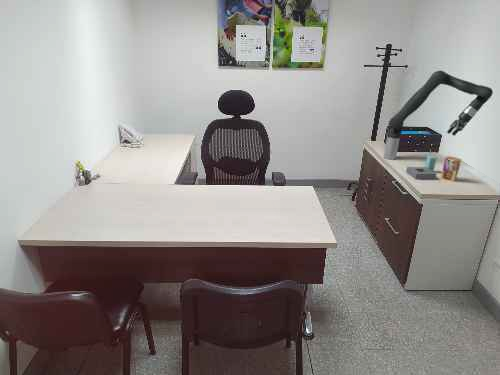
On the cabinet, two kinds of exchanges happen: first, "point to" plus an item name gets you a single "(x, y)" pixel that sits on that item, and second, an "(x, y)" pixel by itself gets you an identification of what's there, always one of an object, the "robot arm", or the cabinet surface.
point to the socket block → (421, 173)
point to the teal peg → (430, 162)
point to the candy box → (451, 168)
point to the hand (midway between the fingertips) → (450, 133)
